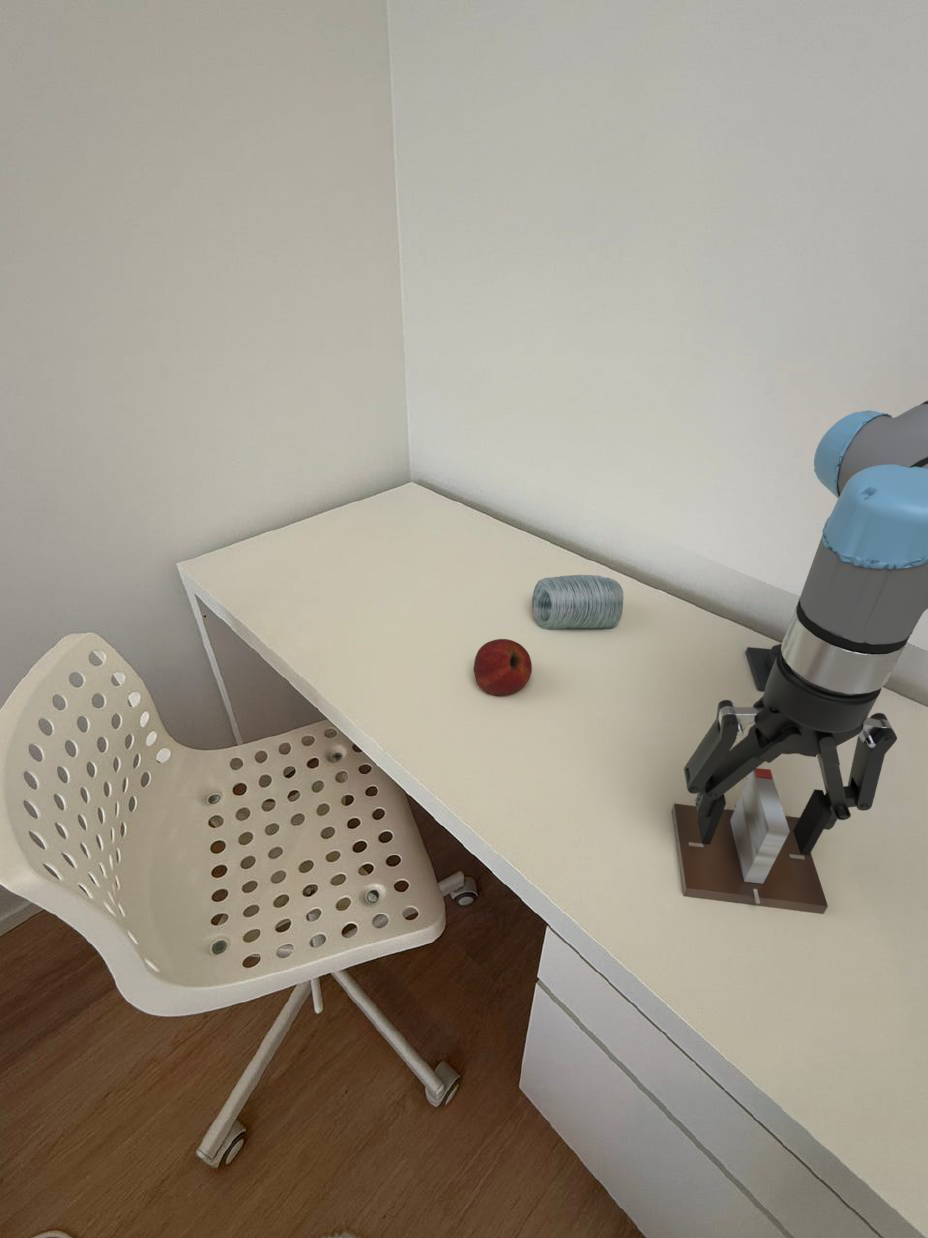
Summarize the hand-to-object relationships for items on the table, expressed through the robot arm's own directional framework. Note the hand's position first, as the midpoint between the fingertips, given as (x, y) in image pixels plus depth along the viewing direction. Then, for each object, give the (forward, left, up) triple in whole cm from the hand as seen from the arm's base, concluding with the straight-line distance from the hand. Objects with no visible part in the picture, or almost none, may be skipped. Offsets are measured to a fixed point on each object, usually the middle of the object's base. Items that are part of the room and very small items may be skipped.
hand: (751, 837), depth 64 cm
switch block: (-12, -30, -5) cm, 33 cm away
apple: (+27, -23, -5) cm, 36 cm away
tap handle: (0, 0, -2) cm, 2 cm away
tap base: (0, 0, -5) cm, 5 cm away
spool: (+17, -39, -5) cm, 43 cm away
